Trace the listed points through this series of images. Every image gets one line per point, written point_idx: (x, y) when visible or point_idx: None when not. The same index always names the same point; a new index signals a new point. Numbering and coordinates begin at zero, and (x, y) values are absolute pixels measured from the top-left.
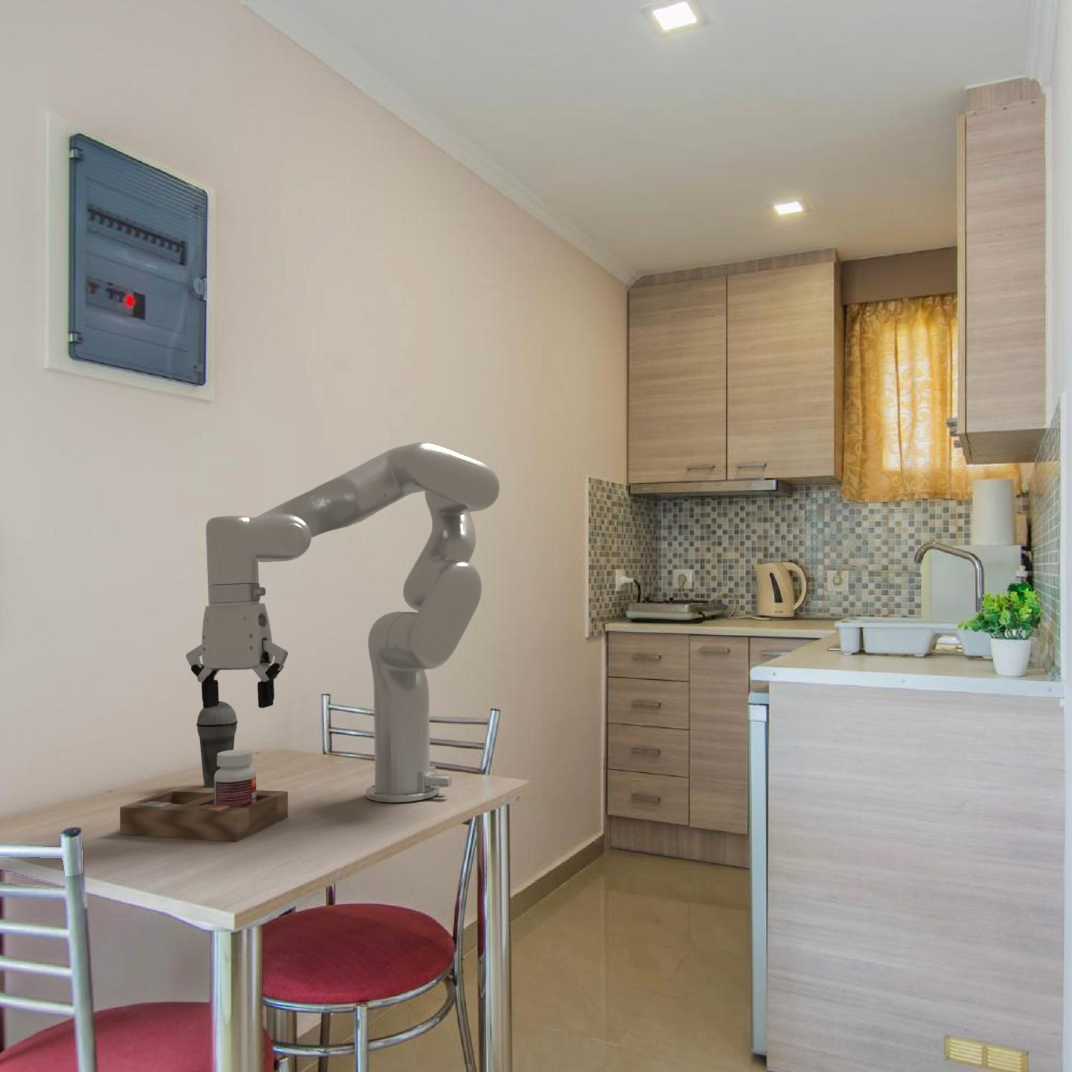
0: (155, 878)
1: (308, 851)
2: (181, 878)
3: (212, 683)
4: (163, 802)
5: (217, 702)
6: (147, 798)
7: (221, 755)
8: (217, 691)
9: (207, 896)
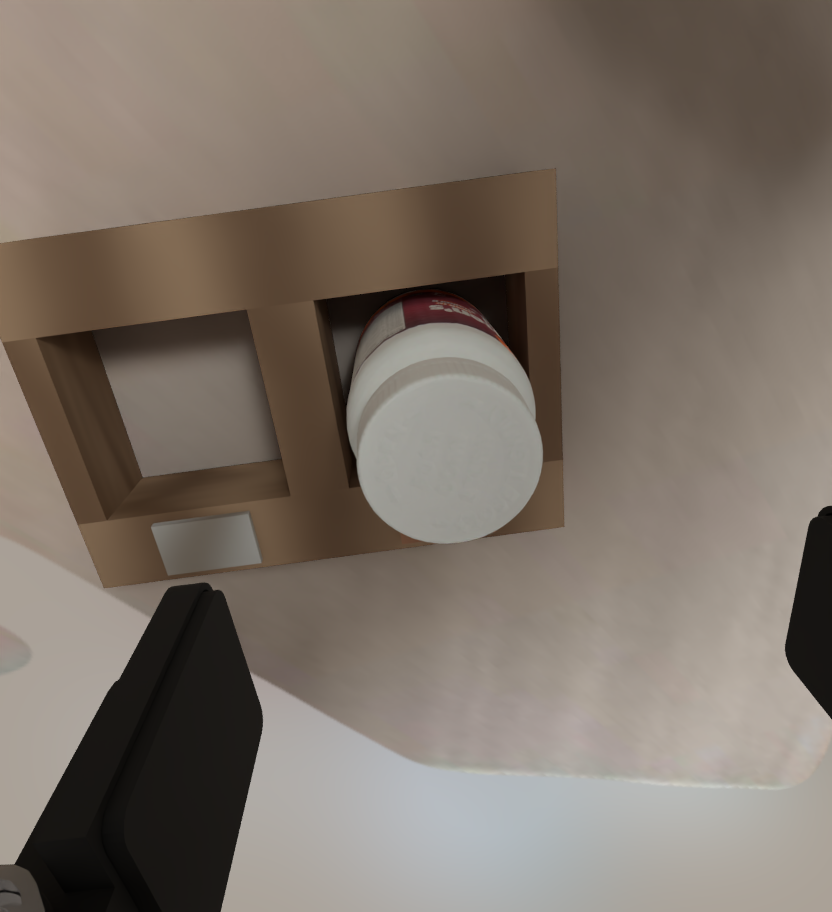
0: (541, 729)
1: (793, 488)
2: (595, 714)
3: (174, 893)
4: (212, 520)
5: (220, 618)
6: (64, 469)
7: (434, 541)
8: (178, 704)
9: (711, 758)
